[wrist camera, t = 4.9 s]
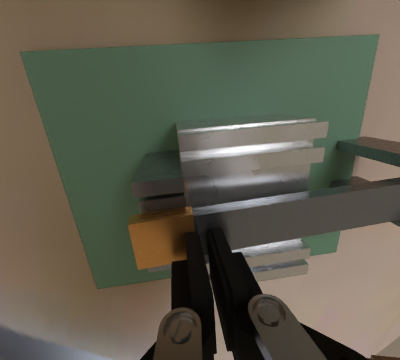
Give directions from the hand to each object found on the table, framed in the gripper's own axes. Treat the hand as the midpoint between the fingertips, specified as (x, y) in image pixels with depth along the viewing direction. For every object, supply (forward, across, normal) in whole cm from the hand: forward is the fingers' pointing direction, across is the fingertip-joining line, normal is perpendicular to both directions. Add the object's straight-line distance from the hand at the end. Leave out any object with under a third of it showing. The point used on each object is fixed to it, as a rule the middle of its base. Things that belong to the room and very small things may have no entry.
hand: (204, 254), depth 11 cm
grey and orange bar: (+1, -6, -1) cm, 6 cm away
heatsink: (+8, -6, -1) cm, 10 cm away
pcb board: (+8, -3, -1) cm, 9 cm away
